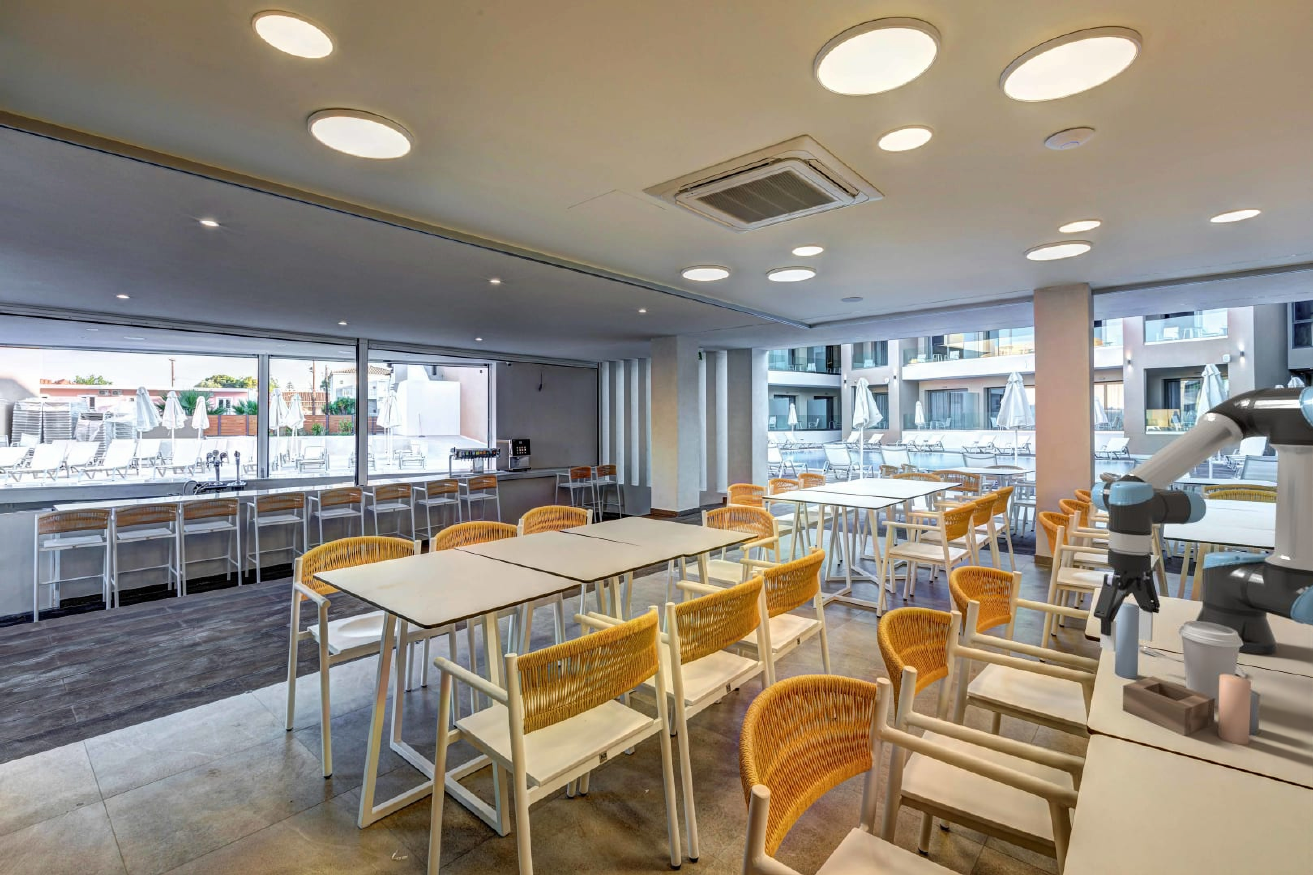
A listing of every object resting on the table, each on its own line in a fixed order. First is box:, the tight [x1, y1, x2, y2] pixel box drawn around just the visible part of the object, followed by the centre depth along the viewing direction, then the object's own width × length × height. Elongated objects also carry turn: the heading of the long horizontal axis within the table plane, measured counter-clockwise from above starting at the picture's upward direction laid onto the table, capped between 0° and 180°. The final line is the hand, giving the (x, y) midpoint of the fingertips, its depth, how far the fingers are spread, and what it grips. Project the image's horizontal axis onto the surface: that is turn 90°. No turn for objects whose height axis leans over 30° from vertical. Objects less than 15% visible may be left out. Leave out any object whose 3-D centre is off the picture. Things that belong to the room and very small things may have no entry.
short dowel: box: [1249, 690, 1261, 735], centre depth 108 cm, size 4×4×7 cm
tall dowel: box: [1114, 601, 1140, 680], centre depth 130 cm, size 4×4×16 cm
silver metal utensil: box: [1138, 642, 1247, 679], centre depth 136 cm, size 20×4×5 cm
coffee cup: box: [1178, 620, 1243, 708], centre depth 119 cm, size 10×10×15 cm
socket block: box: [1122, 675, 1216, 737], centre depth 112 cm, size 10×10×5 cm
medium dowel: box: [1217, 674, 1252, 746], centre depth 105 cm, size 4×4×11 cm
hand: (1126, 644), depth 130 cm, fingers open, 13 cm apart
